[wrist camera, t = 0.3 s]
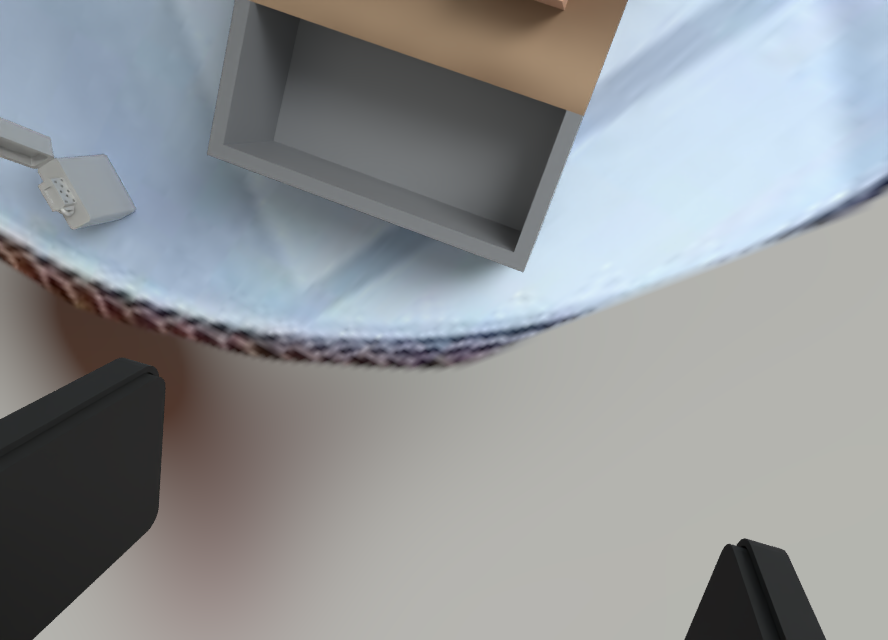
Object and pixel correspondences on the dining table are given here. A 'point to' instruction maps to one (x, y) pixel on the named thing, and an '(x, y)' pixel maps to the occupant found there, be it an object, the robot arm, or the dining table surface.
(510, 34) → the bench plate
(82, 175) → the lighter
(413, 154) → the box
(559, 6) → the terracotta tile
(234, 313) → the dining table surface
